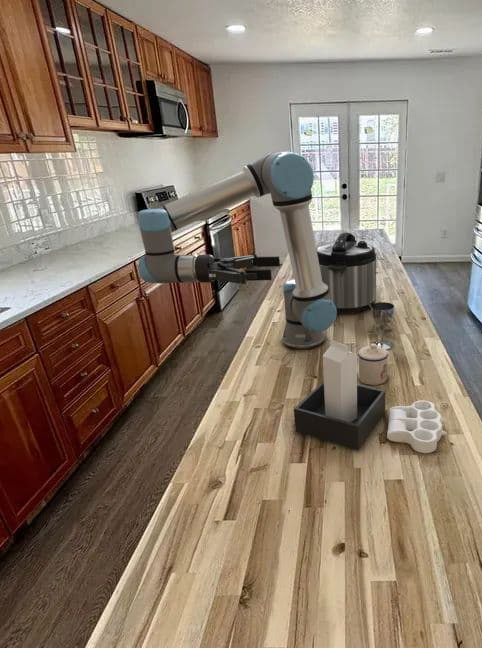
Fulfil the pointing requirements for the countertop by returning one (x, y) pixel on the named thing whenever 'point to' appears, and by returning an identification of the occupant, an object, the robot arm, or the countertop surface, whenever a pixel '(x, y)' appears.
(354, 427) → the tray
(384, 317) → the wine glass
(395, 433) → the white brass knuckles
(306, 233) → the robot arm
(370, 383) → the teacup with lid
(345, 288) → the pressure cooker
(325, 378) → the milk
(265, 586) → the countertop surface
